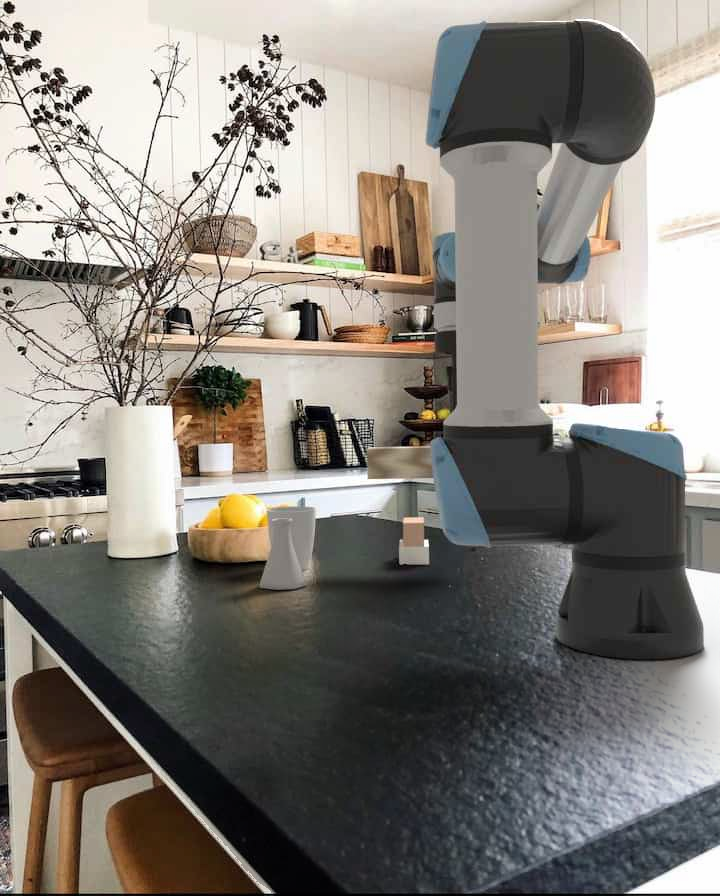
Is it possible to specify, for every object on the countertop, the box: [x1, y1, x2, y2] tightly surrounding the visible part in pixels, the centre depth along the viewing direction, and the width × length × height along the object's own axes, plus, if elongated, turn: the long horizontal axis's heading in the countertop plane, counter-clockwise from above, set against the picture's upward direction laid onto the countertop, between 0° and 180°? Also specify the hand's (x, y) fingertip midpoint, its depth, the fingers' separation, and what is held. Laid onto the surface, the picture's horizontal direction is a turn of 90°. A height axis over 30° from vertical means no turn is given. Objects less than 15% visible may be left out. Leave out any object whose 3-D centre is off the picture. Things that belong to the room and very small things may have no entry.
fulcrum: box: [398, 516, 430, 566], centre depth 142 cm, size 8×5×7 cm, turn 176°
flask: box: [259, 518, 307, 591], centre depth 122 cm, size 7×7×10 cm
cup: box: [266, 506, 317, 572], centre depth 136 cm, size 8×8×10 cm
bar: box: [366, 445, 433, 480], centre depth 135 cm, size 18×4×5 cm, turn 85°
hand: (459, 473), depth 135 cm, fingers closed on bar, 4 cm apart
